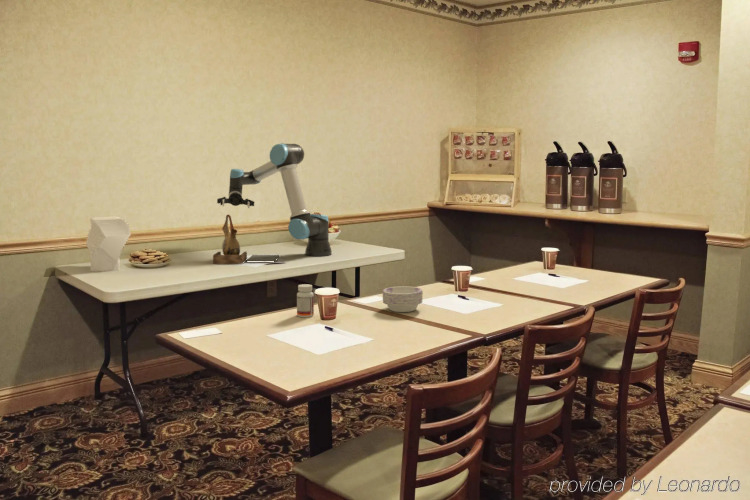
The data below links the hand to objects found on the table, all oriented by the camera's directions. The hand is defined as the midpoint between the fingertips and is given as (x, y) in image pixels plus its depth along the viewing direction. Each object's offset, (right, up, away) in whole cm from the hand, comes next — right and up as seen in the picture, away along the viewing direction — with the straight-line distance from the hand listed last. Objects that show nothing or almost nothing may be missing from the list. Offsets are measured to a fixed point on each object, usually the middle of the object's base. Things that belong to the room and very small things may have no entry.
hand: (236, 204), depth 370 cm
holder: (-2, -31, -7) cm, 32 cm away
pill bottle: (+50, -49, -121) cm, 140 cm away
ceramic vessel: (-2, -30, -2) cm, 30 cm away
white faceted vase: (-59, -34, -26) cm, 73 cm away
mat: (+15, -30, 0) cm, 33 cm away
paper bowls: (+86, -48, -111) cm, 149 cm away
